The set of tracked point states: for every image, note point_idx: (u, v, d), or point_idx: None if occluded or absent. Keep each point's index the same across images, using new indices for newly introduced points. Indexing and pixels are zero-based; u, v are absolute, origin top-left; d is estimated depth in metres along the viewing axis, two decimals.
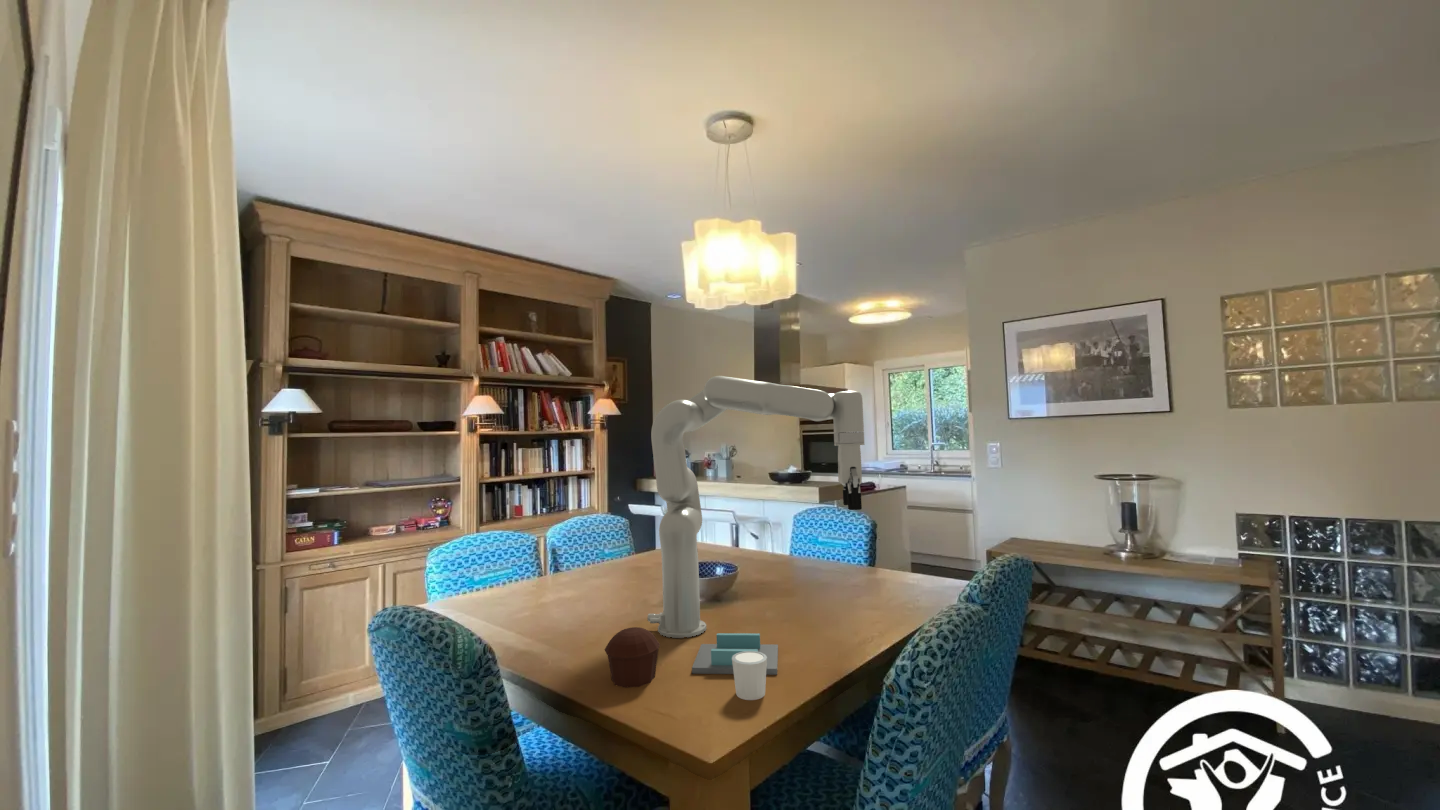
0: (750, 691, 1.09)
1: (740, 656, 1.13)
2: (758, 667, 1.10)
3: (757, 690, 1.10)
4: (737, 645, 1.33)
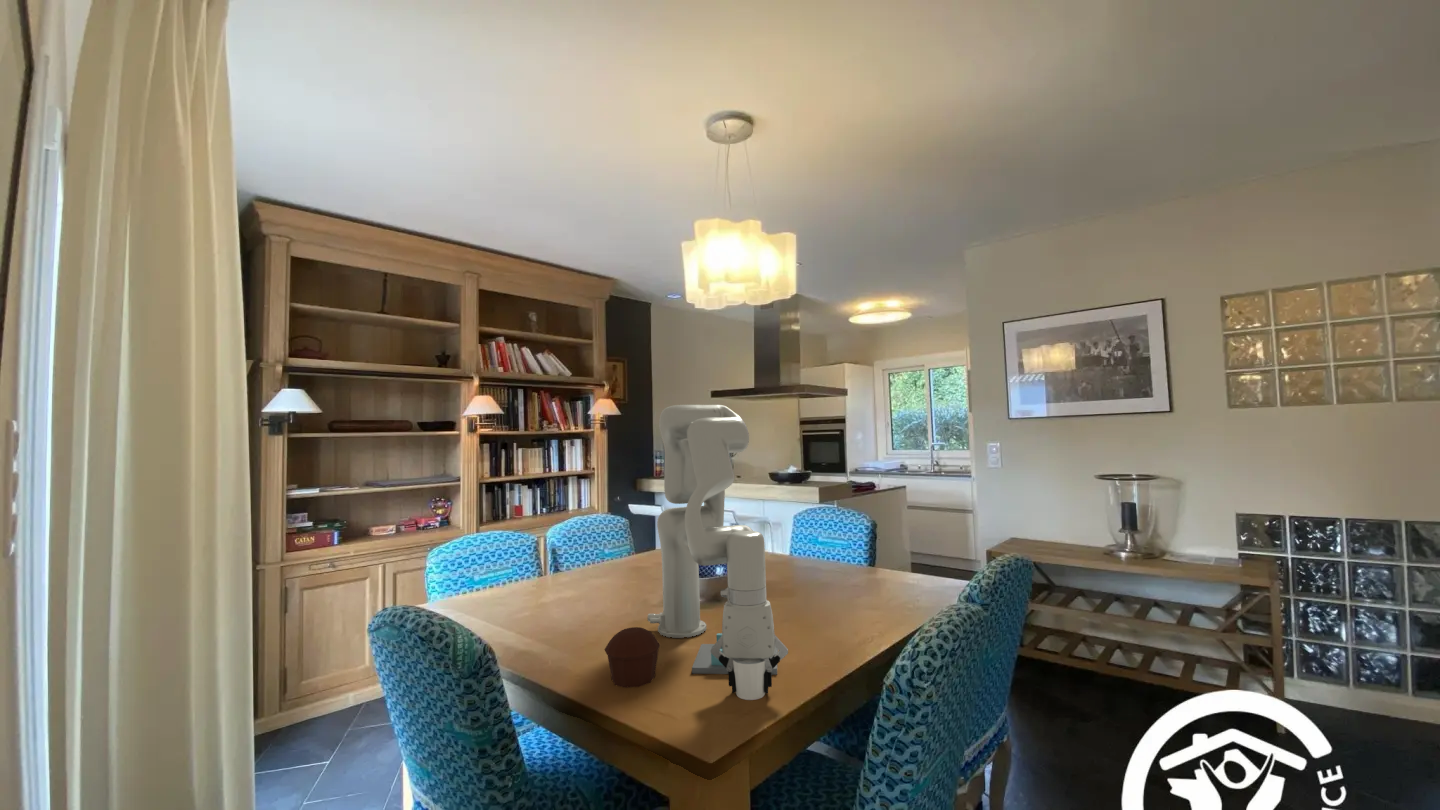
0: (750, 691, 1.09)
1: None
2: (758, 667, 1.10)
3: (757, 690, 1.10)
4: None
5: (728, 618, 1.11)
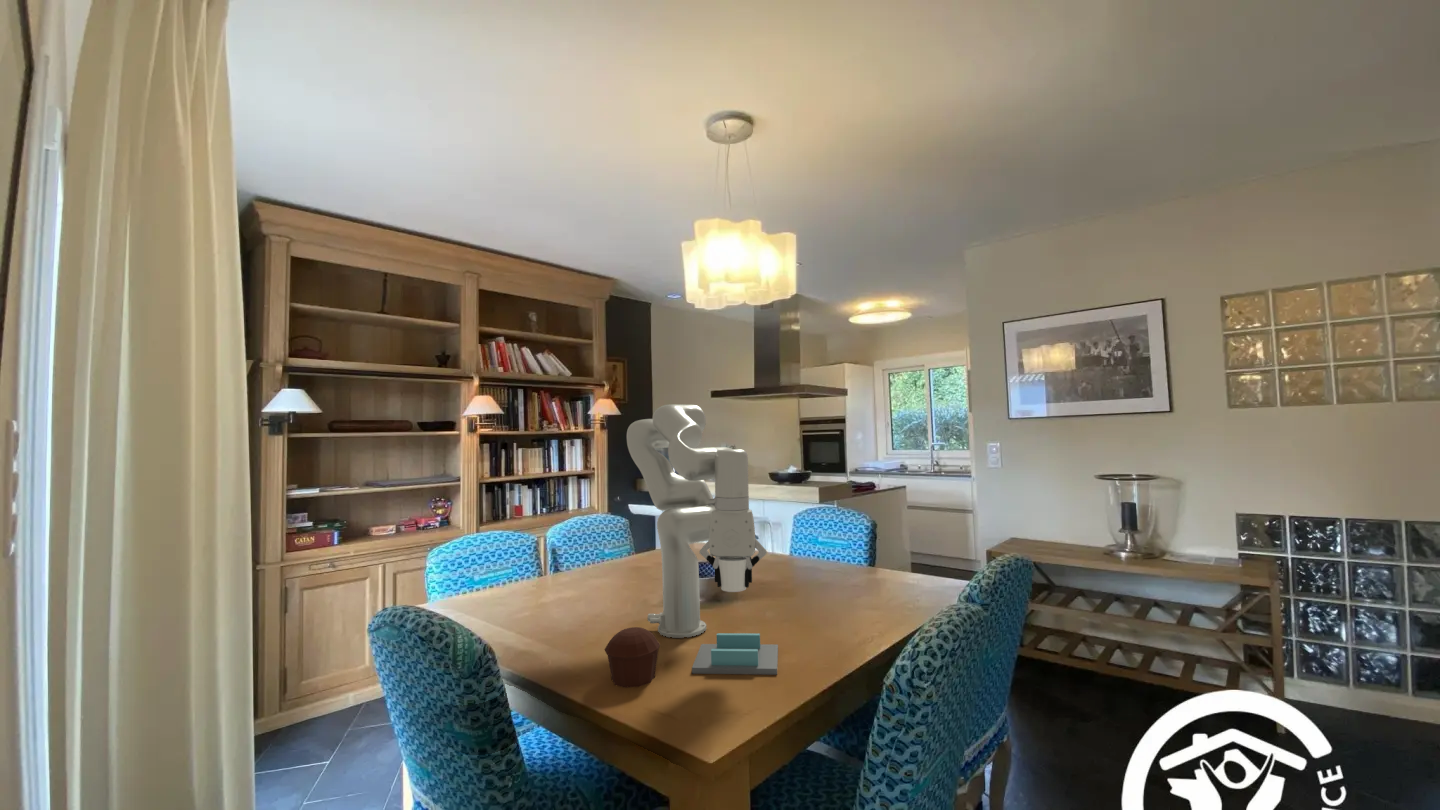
0: (733, 584, 1.26)
1: None
2: (740, 564, 1.26)
3: (739, 583, 1.26)
4: (737, 645, 1.33)
5: (715, 522, 1.27)
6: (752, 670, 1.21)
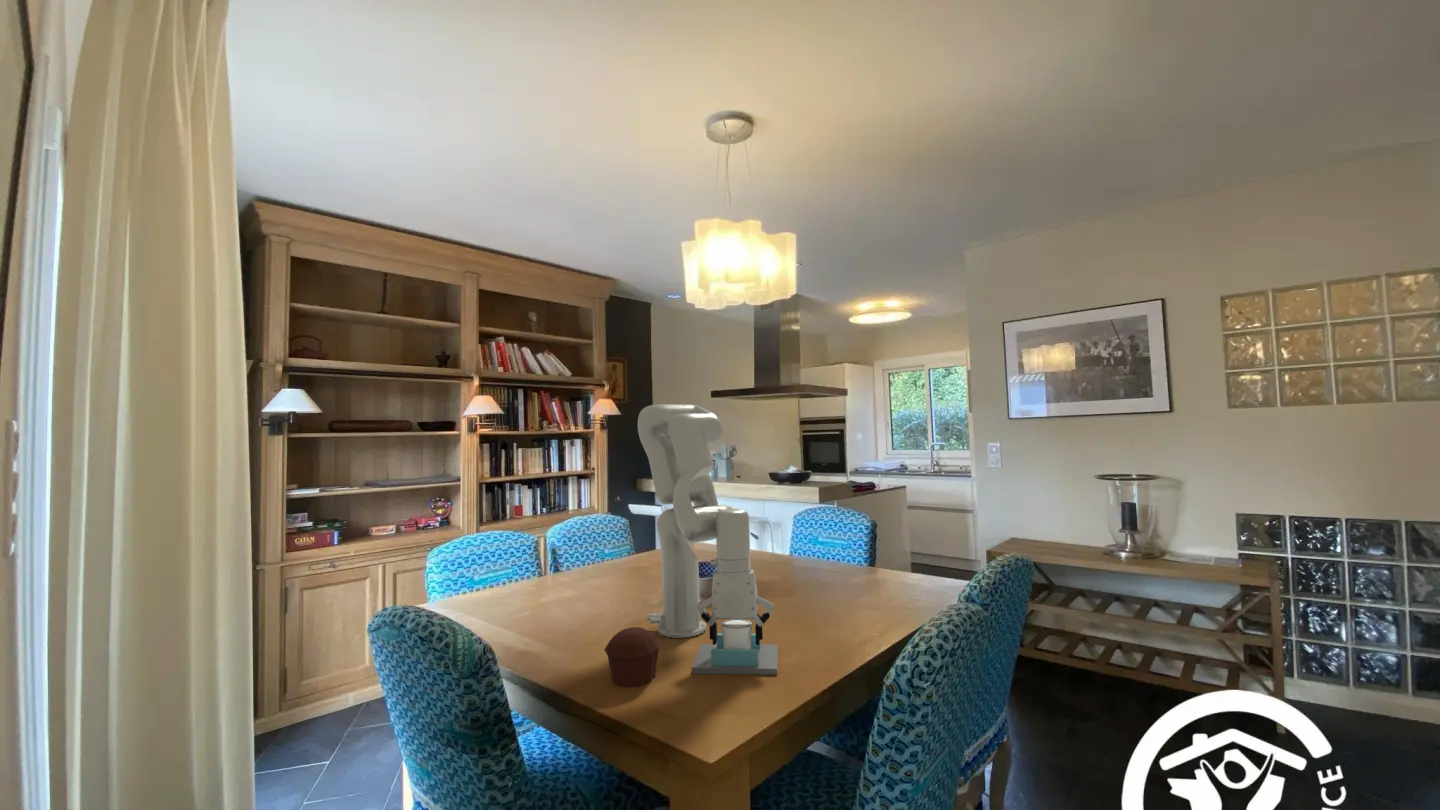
0: None
1: (728, 623, 1.30)
2: (744, 631, 1.26)
3: None
4: None
5: (717, 584, 1.27)
6: (752, 670, 1.21)
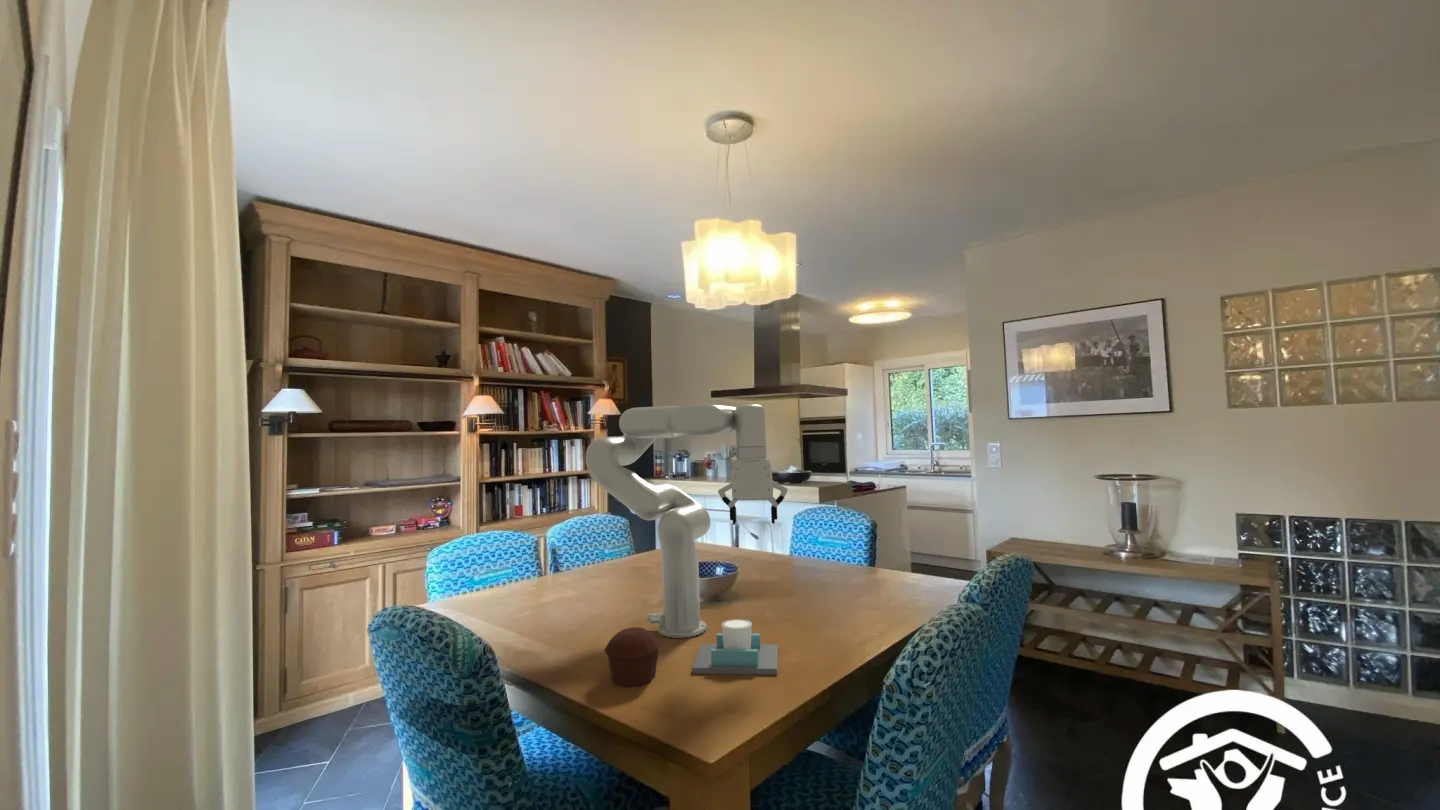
0: None
1: (728, 623, 1.30)
2: (744, 631, 1.26)
3: None
4: None
5: (736, 469, 1.42)
6: (752, 670, 1.21)
